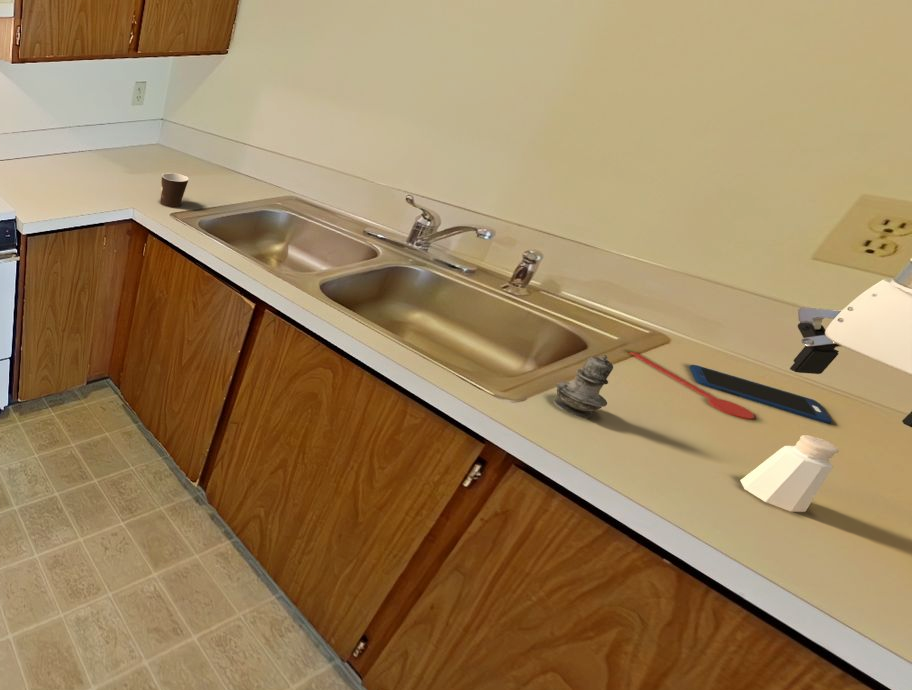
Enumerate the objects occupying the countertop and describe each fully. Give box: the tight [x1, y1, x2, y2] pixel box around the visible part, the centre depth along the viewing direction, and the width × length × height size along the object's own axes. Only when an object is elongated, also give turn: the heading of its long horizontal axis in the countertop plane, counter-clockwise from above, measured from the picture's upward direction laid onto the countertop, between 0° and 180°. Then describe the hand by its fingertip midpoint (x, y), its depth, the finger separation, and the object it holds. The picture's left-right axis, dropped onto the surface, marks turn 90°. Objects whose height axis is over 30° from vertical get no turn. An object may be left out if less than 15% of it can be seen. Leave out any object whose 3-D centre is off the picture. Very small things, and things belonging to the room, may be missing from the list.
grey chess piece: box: [552, 354, 614, 419], centre depth 87 cm, size 6×6×12 cm
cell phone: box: [689, 364, 833, 425], centre depth 93 cm, size 7×14×1 cm, turn 44°
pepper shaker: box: [740, 434, 840, 513], centre depth 72 cm, size 5×5×11 cm
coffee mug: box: [160, 172, 190, 208], centre depth 176 cm, size 12×9×10 cm
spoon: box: [629, 352, 755, 420], centre depth 95 cm, size 17×5×1 cm, turn 175°
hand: (857, 397), depth 67 cm, fingers open, 9 cm apart
